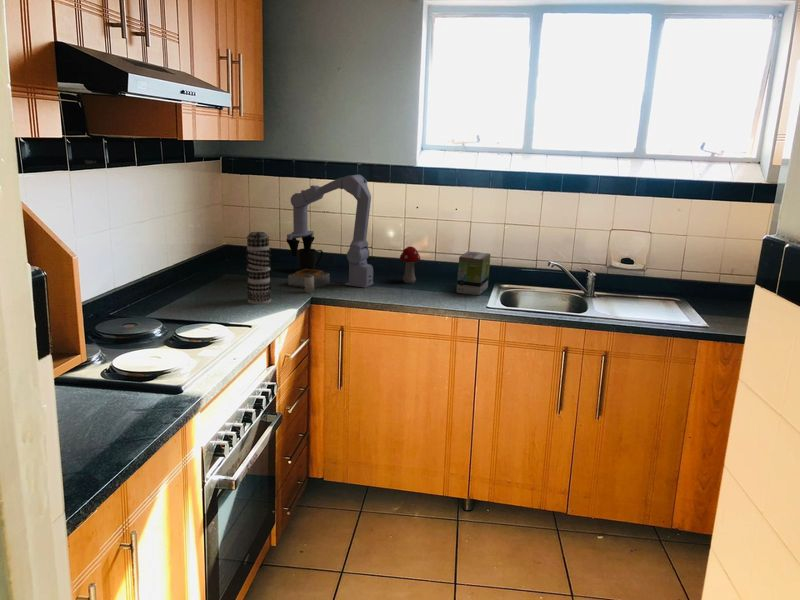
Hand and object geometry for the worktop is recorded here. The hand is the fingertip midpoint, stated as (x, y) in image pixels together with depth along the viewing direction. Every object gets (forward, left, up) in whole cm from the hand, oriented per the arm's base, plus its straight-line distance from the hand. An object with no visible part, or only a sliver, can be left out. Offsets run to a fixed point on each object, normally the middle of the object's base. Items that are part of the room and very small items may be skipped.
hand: (300, 254), depth 276 cm
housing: (-9, +8, -10) cm, 16 cm away
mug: (+4, -14, -10) cm, 18 cm away
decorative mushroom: (-42, -18, -10) cm, 47 cm away
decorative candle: (-8, +40, -10) cm, 42 cm away
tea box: (-70, -18, -10) cm, 73 cm away
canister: (-16, +19, -10) cm, 27 cm away
